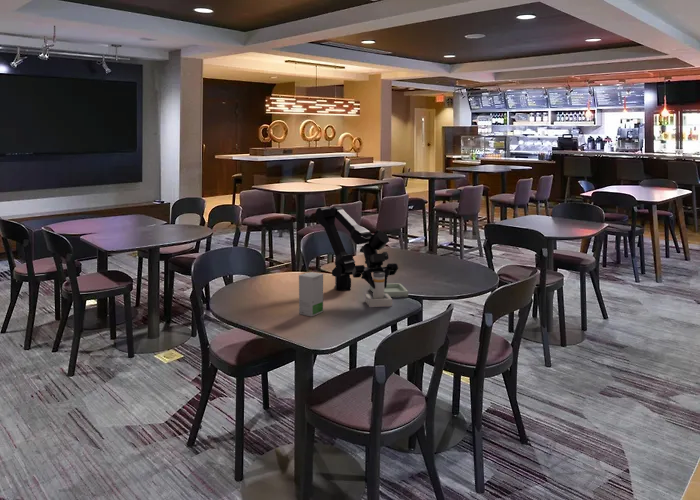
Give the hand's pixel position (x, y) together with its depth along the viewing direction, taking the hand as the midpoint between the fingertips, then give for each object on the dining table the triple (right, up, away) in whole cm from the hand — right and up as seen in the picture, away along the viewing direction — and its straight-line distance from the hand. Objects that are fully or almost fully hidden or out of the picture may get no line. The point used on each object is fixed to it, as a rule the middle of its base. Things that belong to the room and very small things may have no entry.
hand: (380, 287), depth 237 cm
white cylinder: (-1, -7, +3) cm, 7 cm away
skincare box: (-28, -9, -11) cm, 31 cm away
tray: (+5, -4, +19) cm, 19 cm away
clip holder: (-1, -7, +3) cm, 7 cm away
